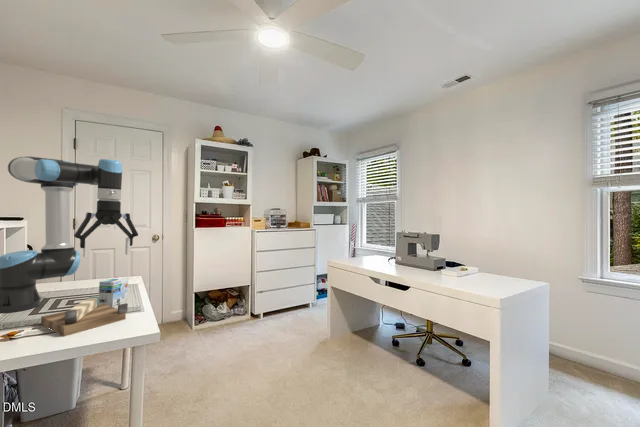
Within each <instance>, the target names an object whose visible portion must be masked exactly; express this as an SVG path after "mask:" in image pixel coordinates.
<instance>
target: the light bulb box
mask: <svg viewBox="0 0 640 427" xmlns="http://www.w3.org/2000/svg"><path fill="white" fill-rule="evenodd" d="M98 286H99V287H98V297H99V304H101V303H102V304H105V305H108V306H111V307H114V306H116V305H120V304H121V303H123V302H126V301H128V299H129V298H128V294H129V277H126V276H125V277H124V276H114V277H111V278H110V277H109V278H107V279H104V280H101V281H99V285H98Z"/></svg>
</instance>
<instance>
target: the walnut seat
mask: <svg viewBox="0 0 640 427" xmlns="http://www.w3.org/2000/svg"><path fill="white" fill-rule="evenodd" d="M66 311H67V310H65V311H61V312H56V313H52V314H46V315H43V316H40V326H42V327H43V328H47V329H48V328H50V329H52V330H53V331H52V330H51V331H52V332H54V331H55V333H57V334H59V335H61V336H62V337H66V336H70V335H73V334H74V335H75V334H77V333H81V332H84V331H85V332H86V331H88V330H93V329H95V328H100V327H101V326H106V325H110V324H113V323H117V322H120V321H123V320H126V314H127V313H126V312H128V302H127V303H125V302H124V303H122V304H121V303H120V304H117V307H114V306H108V305H105V304H102V303H101V304H99V305H98V306H97V307H96V308H94V309H93V310H92V311H90V312H89V313H88V314H86V315H85V316H84V317H82V318H81V319H80V320H78V321H77V322H75V323H71V324H65V312H66ZM50 329H49V330H50Z"/></svg>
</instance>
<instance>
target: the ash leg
mask: <svg viewBox="0 0 640 427" xmlns="http://www.w3.org/2000/svg"><path fill="white" fill-rule="evenodd" d="M98 305H99V296H89V297H87V298H86V299H84V300H82V301H81V302H79V303H77V304H76V305H74V306H73V307H72V308H70V309H69V310H65V311H66V312H65V311H64V312H65V324H71V323H75V322H77V321H78V320H80V319H81V318H82V317H84V316H85V315H86V314H88V313H89V312H90V311H92V310H93V309H94V308H96V307H97V306H98Z"/></svg>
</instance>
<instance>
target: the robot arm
mask: <svg viewBox="0 0 640 427" xmlns="http://www.w3.org/2000/svg"><path fill="white" fill-rule="evenodd" d="M7 172H8V173H9V174H10V176H11V177H12V178H14V179H15V180H18V181H21V182H25V183H31V184H36V185H37V184H39V185H40V189H41V190H42V191H44V193H45V194H44V195H45V199H44V200H45V201H44V203H45V204H44V205H45V208H44V209H45V210H44V211H45V212H44V214H45V218H44V219H45V245H44V246H42V247H41V248H40V252H38V251H37V250H34V249H28V250H19V251H12V252H7V253H5V254H2V255H1V256H0V313H2V314H5V313H14V312H22V311H27V310H31V309H34V308H37V307H39V306H41V303H42V302H41V301H42V300H41V296H40V294H39V292H38V289H37V287H36V286H37V283H36V282H37V281H38V280H45V279H54V278H64V277H67V276H71V275H74V274H75V273H76V272H77V271H78V269H79V266H80V263H81V255H80V252H79V251H78V250H76V249H75V246H74V245H73V244H71V228H70V227H71V222H70V217H71V216H70V212H71V211H70V208H71V207H70V202H71V201H70V198H71V197H70V193H71V192H72V191H74V187H76V186H78V184H85V185H91V186H97V193H96V194H97V195H96V196H97V199H98V200H97V201H96V212H94V213H93V212H89V211H87V212H86V213H85V218H84V219H83V221H82V222H81V224H80V226H79V227H78V228H77V230H76V232H75V233H74V234H73V237H74V238H76V239H79V241H80V242H79V247H80V248H81V249H83V252H82V253H83V254H82V257H83V258H88V247H89V245H88V244H89V242H88V241H89V239H88V238H87V237H89V236H90V235H91V234H92V233H93V232H94V231H95V230H97V228H98V227H99V226H101V225H105V226H106V225H112V226H115V225H116V226H117V227H118V228H119V229H120V230H121V231H122V233H124V234H125V235H126V236H127V237H125V249H124V250H125V251H124V252H125V255H127V256H129V255H130V250H131V247H132V246H133V243H134V240H133V239H134V238H135V237H138V236H139V233H138V230H136V229H137V228H136V227H135V225H134V223H133V221H132V219H131V214H130V213H128V212H126V213H122V212H121V209H122V208H121V206H122V204H121V203H122V202H121V199H122V182H123V181H122V180H123V164H122V161H120V160H115V159H110V158H108V159H107V158H100V159H99V161H98V164H97V165H92V164H85V163H78V162H71V161H68V160H67V161H66V160H63V159H54V158H48V157H47V158H44V157H37V156H18V157H14V158H13V159H11V160H10V161H9V162H8V164H7ZM94 218H96V221H95V222H94V223H93V224H92V225H91V226H90V227H89V228H88V229H87V230H85V229H86V227H87V225H88V224H89V222H91V220H92V219H94ZM121 218H123V219H124V220H125V222H126V225H127V226H128V228H129V230H128V229H127V227H126V226H124V224H123V223H122V222H121V221H120V220H121ZM84 230H85V231H84Z"/></svg>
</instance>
